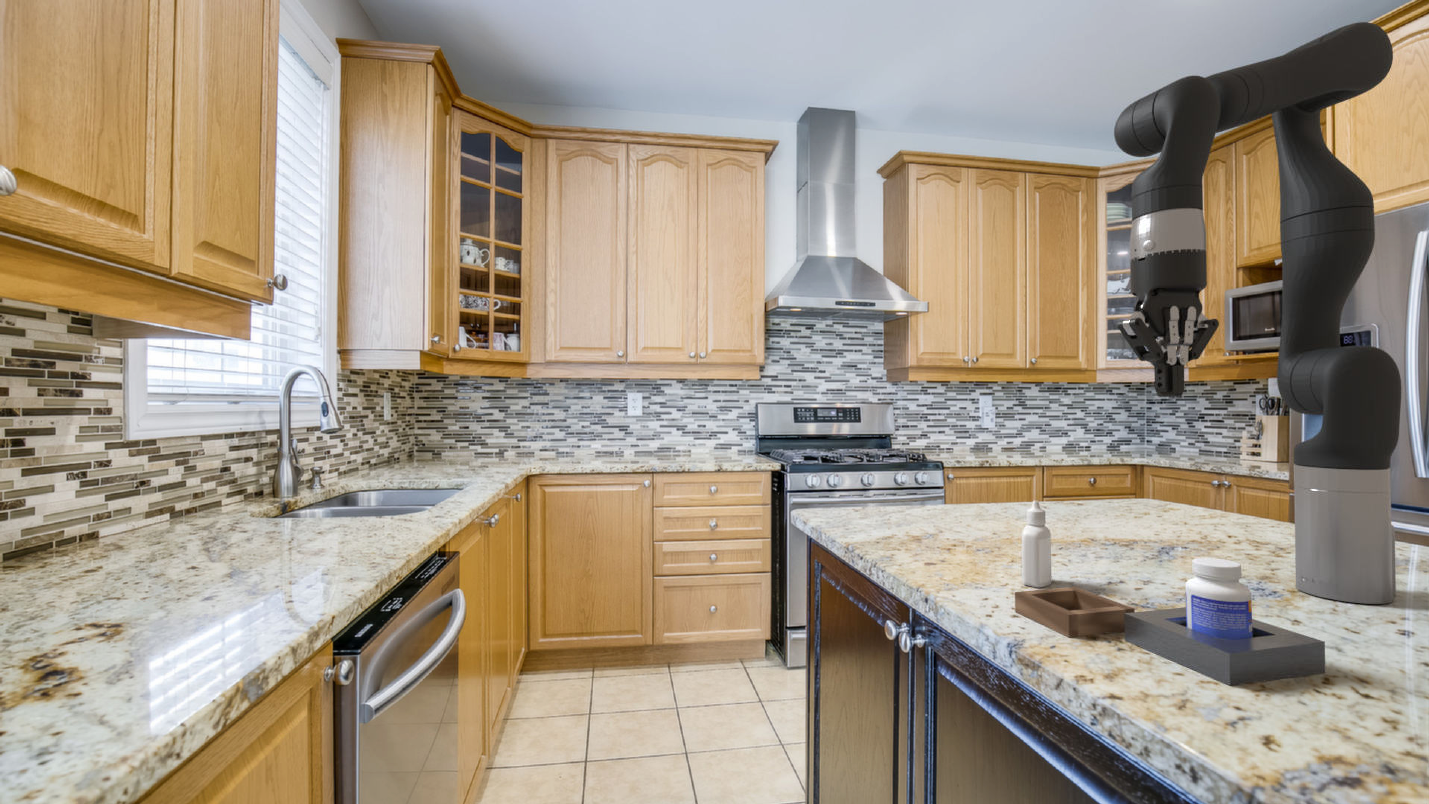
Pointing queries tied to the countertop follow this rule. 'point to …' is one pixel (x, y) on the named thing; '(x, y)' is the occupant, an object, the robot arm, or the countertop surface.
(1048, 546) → the eye dropper bottle
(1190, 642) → the steel block
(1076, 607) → the walnut stand
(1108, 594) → the countertop surface
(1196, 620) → the pill bottle
